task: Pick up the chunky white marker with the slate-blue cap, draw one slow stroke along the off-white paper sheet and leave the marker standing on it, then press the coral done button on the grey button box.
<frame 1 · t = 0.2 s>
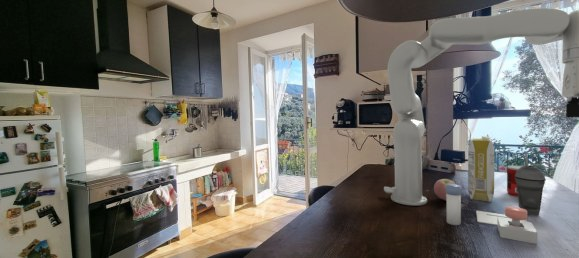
marker: (453, 222, 76), on the table
canned food: (520, 195, 99), on the table
apple: (446, 200, 96), on the table
paper: (501, 220, 77), on the table
beverage cup: (529, 214, 81), on the table
button box: (515, 235, 67), on the table
juice carton: (480, 198, 97), on the table
done button: (515, 218, 67), point 5 cm above the table, slide at 0.0 cm
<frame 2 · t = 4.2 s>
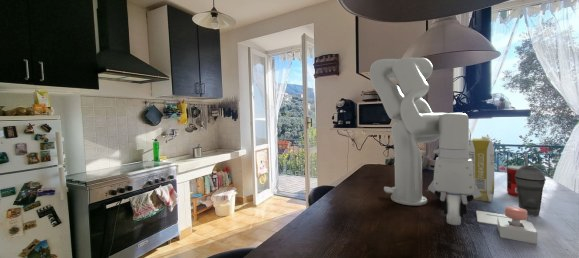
hand: (453, 213, 76), 3 cm above the table, fingers closed on marker, 3 cm apart
marker: (453, 222, 76), on the table, touching gripper
everything else where it was.
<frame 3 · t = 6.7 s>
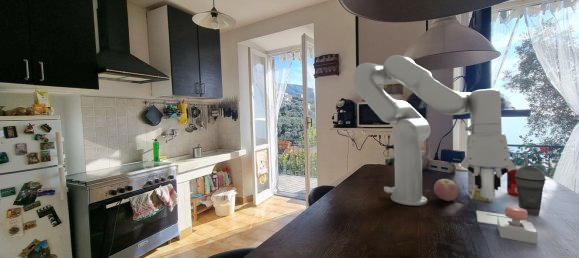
hand: (487, 187, 78), 10 cm above the table, fingers closed on marker, 3 cm apart
marker: (487, 196, 78), point 7 cm above the table, touching gripper
everything else where it was.
when the fingers open (4 cm above the table, at t = 9.3 s): marker stays where it is, resting on paper.
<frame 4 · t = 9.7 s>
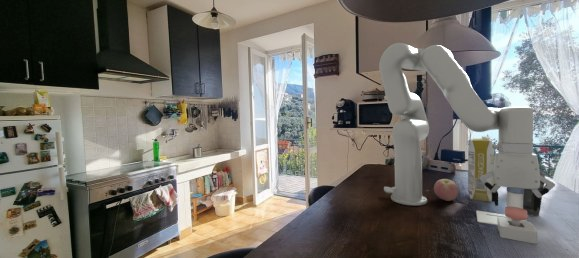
hand: (514, 206, 75), 5 cm above the table, fingers open, 8 cm apart
marker: (514, 221, 75), resting on paper
everything else where it was.
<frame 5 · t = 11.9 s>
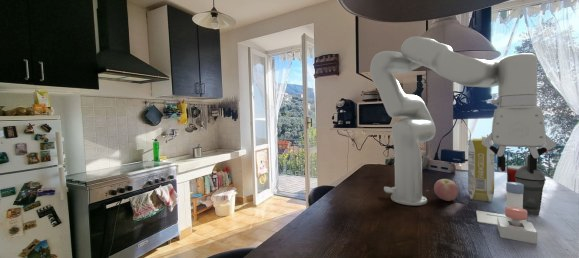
hand: (516, 170, 66), 17 cm above the table, fingers open, 4 cm apart
nothing on the table moved.
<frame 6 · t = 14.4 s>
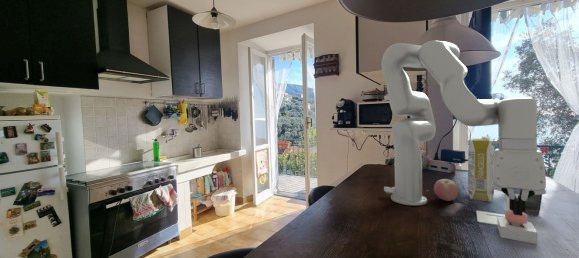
hand: (517, 213, 67), 6 cm above the table, fingers closed
done button: (515, 222, 67), point 3 cm above the table, slide at 1.0 cm, touching gripper
everything else where it was.
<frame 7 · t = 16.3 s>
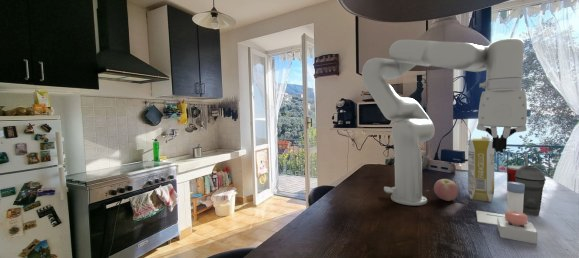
hand: (498, 151, 71), 22 cm above the table, fingers closed
done button: (515, 223, 67), point 3 cm above the table, slide at 1.3 cm
everything else where it was.
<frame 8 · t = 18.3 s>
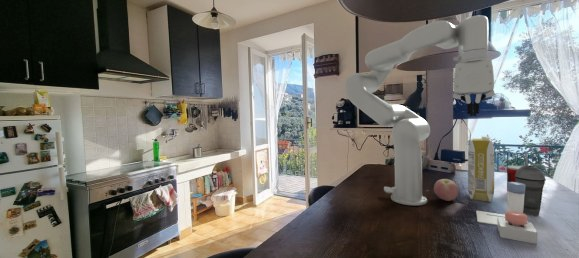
hand: (472, 116, 80), 32 cm above the table, fingers closed
nothing on the table moved.
at the end: marker inside the target area on the paper (2.9 cm from its centre), point 0.4 cm above the paper's base; marker tilted 2°; done button slide at 1.3 cm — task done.
